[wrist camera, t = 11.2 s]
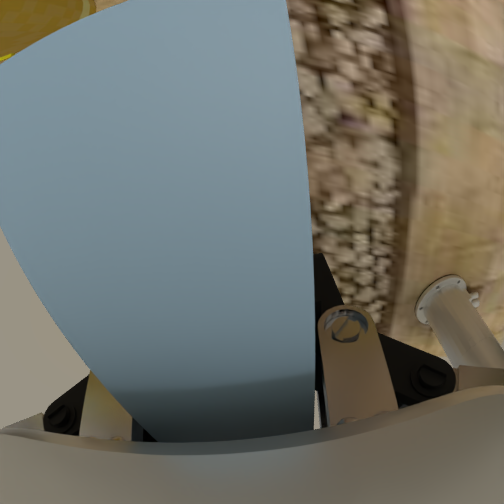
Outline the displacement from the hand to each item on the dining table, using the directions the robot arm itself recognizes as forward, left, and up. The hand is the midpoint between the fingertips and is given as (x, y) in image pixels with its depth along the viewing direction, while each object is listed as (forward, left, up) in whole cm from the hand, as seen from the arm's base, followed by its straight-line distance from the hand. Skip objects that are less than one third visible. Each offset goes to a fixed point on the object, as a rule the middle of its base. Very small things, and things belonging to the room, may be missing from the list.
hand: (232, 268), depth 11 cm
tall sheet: (0, 0, -10) cm, 10 cm away
